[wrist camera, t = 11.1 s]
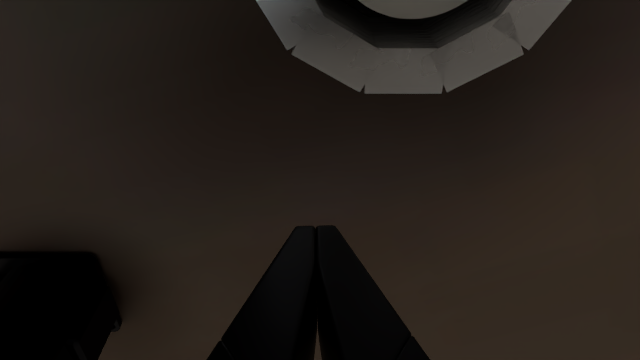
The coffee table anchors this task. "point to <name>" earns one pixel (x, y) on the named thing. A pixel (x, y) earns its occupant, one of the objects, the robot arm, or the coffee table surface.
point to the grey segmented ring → (409, 41)
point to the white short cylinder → (412, 7)
